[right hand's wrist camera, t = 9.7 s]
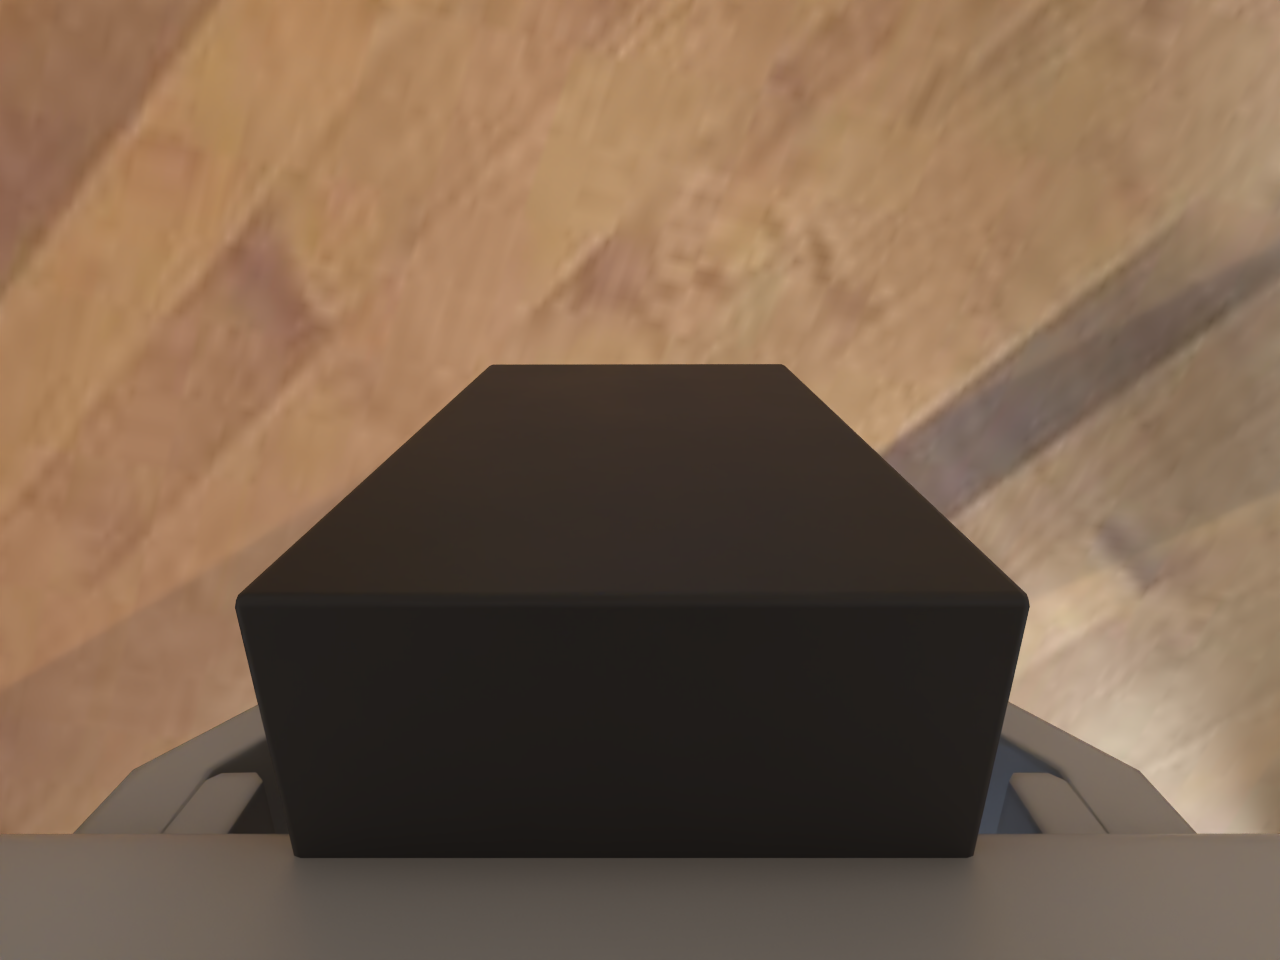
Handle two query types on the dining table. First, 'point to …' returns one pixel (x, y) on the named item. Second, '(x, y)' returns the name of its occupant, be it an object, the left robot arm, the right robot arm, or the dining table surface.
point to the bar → (633, 634)
